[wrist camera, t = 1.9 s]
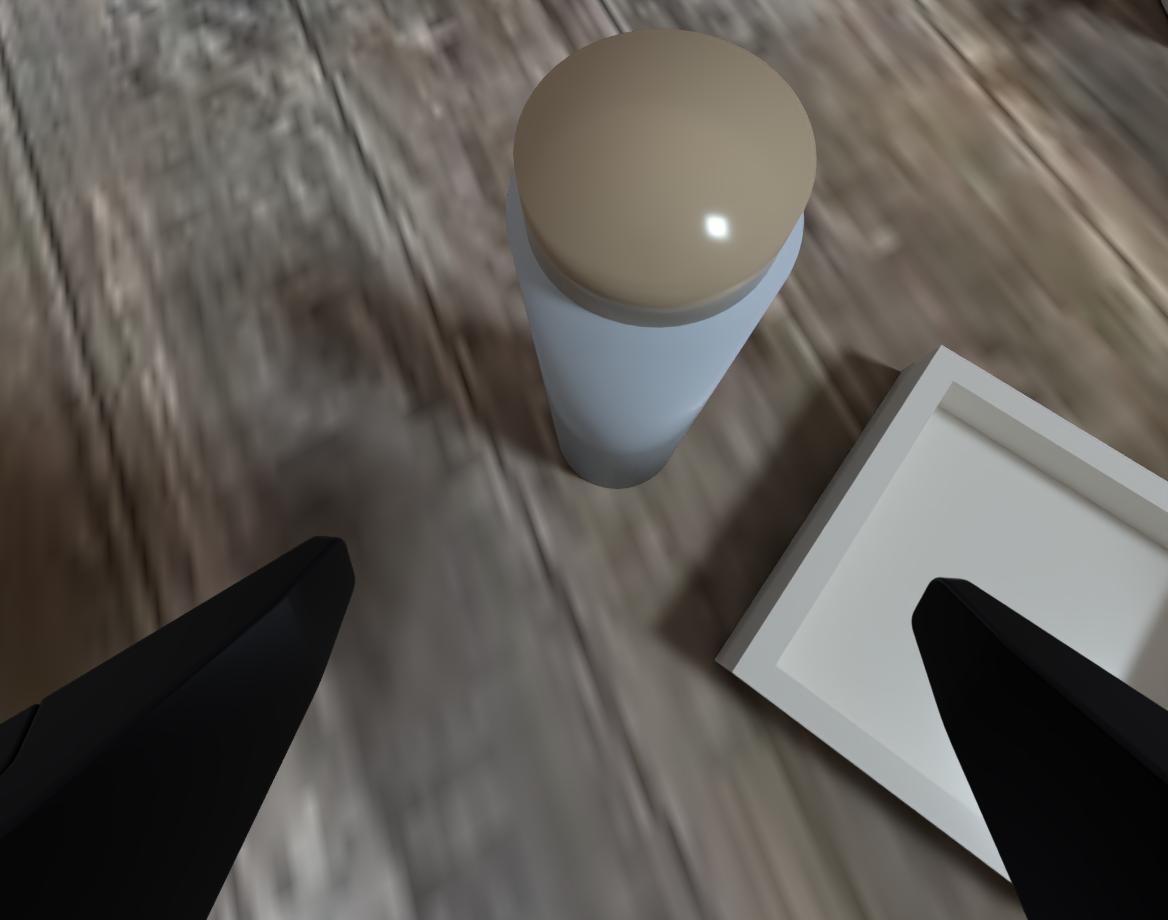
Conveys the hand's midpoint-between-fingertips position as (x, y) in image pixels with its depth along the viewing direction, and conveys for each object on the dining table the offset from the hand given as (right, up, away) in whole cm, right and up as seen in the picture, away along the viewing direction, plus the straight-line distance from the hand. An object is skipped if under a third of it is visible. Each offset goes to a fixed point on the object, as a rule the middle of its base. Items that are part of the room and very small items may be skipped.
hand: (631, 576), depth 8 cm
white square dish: (+14, -4, +11) cm, 18 cm away
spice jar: (+1, +3, +13) cm, 13 cm away
